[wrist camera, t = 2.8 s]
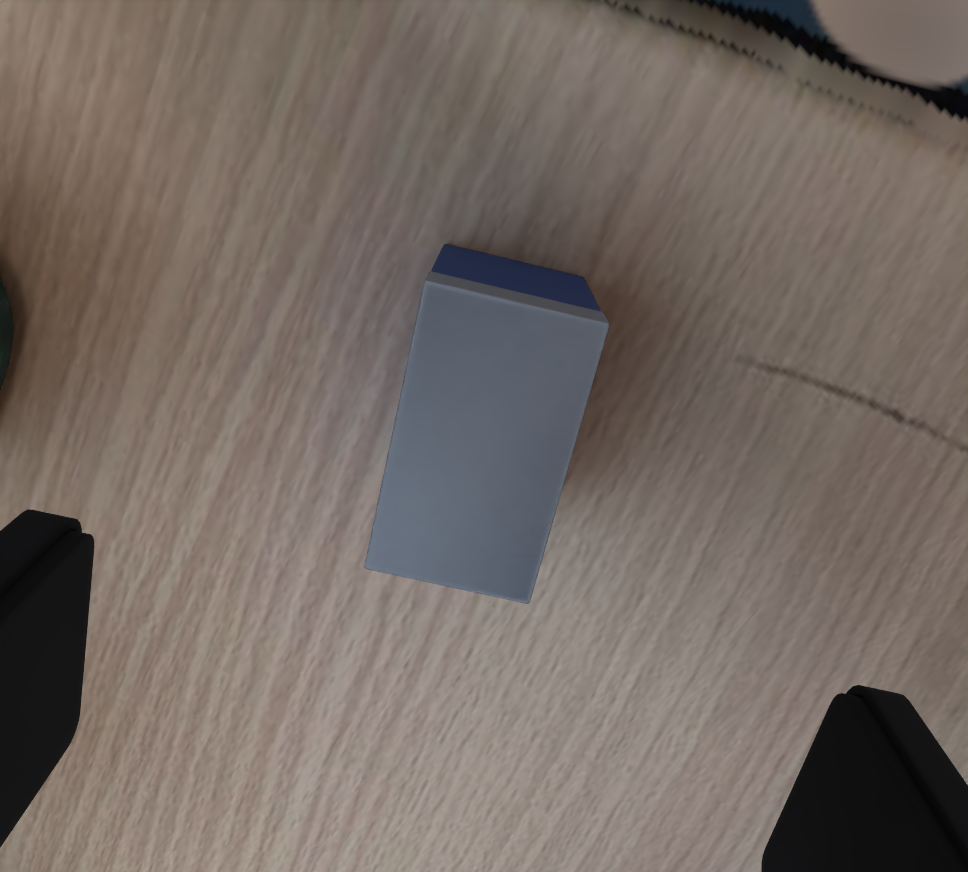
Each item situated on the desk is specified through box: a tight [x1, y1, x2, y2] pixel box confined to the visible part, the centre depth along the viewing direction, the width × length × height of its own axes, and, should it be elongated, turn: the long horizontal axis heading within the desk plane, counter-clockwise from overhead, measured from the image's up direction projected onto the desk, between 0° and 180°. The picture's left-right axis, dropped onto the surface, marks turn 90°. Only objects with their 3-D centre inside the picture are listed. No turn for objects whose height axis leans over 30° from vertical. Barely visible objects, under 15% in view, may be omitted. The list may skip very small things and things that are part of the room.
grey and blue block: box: [365, 244, 609, 604], centre depth 23 cm, size 4×7×6 cm, turn 167°
